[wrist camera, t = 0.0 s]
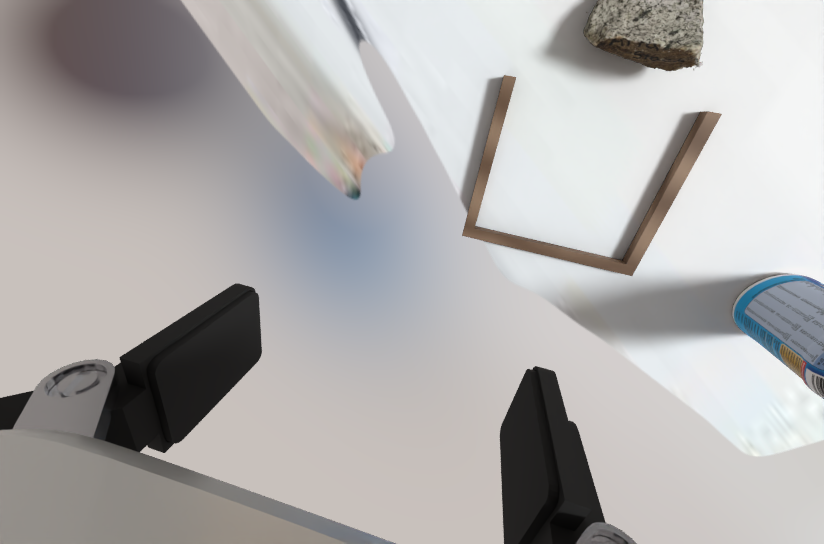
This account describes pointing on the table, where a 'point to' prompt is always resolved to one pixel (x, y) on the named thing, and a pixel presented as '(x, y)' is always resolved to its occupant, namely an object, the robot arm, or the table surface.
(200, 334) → the robot arm
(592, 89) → the table surface
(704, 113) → the frame
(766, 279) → the beverage bottle
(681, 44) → the rock sample
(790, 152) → the table surface
